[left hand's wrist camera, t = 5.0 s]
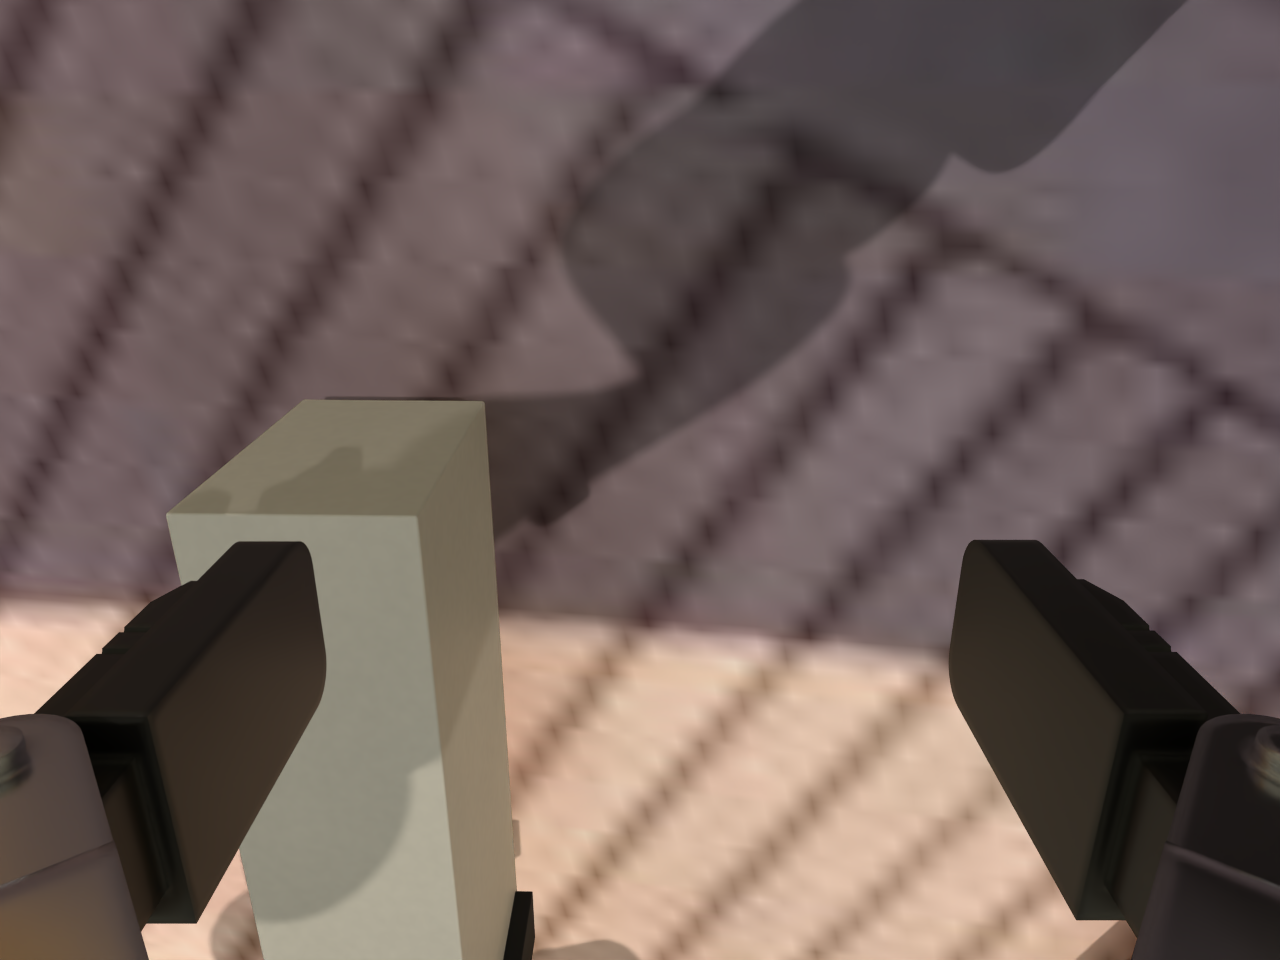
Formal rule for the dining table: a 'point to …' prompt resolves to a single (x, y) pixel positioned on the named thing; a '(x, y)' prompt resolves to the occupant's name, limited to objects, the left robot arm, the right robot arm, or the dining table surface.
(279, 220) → the dining table surface
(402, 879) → the box
